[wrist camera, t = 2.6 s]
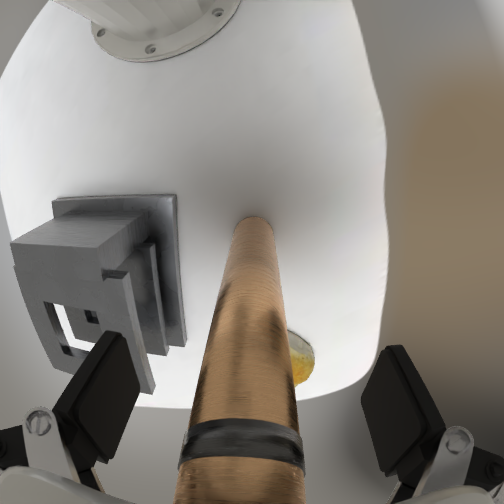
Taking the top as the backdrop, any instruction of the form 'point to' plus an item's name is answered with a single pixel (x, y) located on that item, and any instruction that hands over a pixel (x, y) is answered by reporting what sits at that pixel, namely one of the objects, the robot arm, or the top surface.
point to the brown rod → (245, 389)
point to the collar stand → (105, 277)
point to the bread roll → (300, 358)
